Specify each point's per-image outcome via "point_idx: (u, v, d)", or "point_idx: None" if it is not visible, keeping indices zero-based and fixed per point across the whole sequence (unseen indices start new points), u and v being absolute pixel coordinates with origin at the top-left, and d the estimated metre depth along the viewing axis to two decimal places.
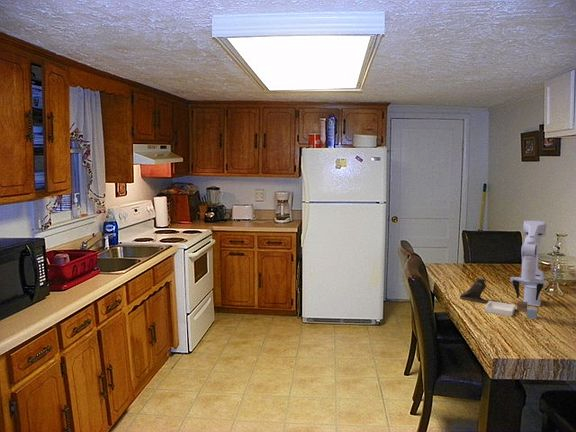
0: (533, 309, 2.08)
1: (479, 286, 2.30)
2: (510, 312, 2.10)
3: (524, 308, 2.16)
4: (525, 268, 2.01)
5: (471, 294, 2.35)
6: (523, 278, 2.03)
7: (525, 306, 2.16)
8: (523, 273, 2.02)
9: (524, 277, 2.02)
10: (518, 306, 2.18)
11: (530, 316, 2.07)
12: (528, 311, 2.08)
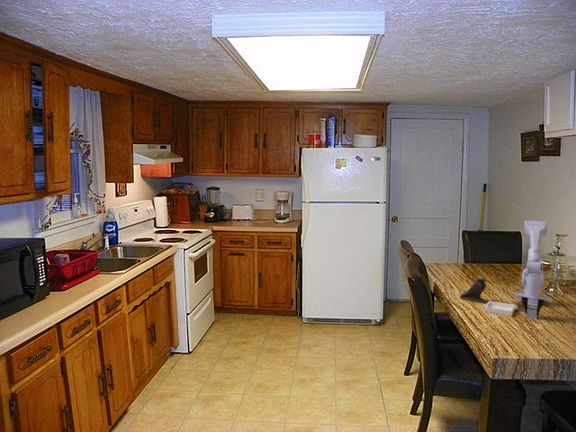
0: (533, 309, 2.08)
1: (479, 286, 2.30)
2: (510, 312, 2.10)
3: (524, 308, 2.16)
4: (531, 285, 2.05)
5: (471, 294, 2.35)
6: (528, 294, 2.07)
7: None
8: (528, 289, 2.06)
9: (529, 293, 2.06)
10: (518, 306, 2.18)
11: (530, 316, 2.07)
12: (528, 311, 2.07)
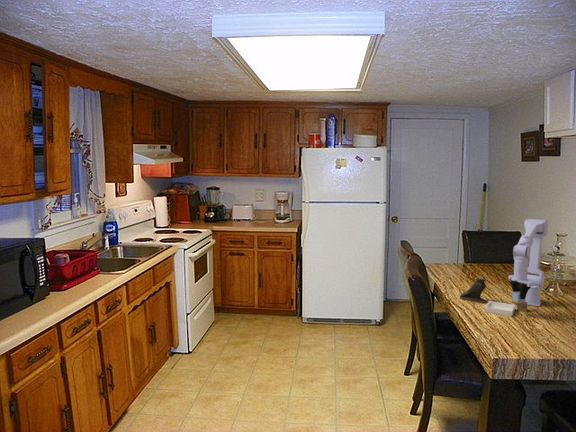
0: (519, 293, 2.11)
1: (479, 286, 2.30)
2: (510, 312, 2.10)
3: (524, 308, 2.16)
4: (516, 268, 2.09)
5: (471, 294, 2.35)
6: (513, 277, 2.12)
7: (525, 306, 2.16)
8: (514, 272, 2.12)
9: (513, 276, 2.12)
10: (518, 306, 2.18)
11: (514, 298, 2.12)
12: (513, 293, 2.13)
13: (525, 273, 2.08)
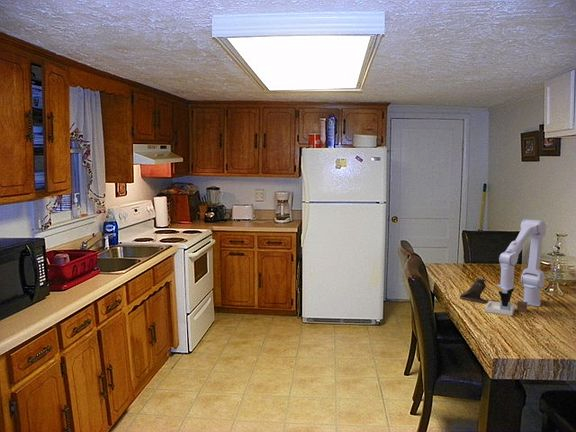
0: None
1: (479, 286, 2.30)
2: (510, 312, 2.10)
3: (524, 308, 2.16)
4: (502, 275, 2.14)
5: (471, 294, 2.35)
6: None
7: (525, 306, 2.16)
8: None
9: None
10: (518, 306, 2.18)
11: None
12: (501, 302, 2.19)
13: (507, 280, 2.12)
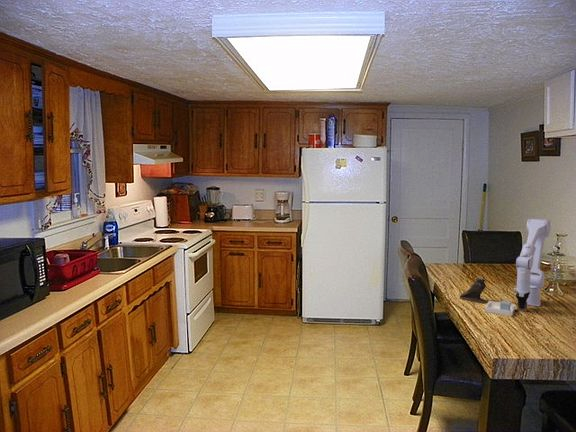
0: (505, 302, 2.16)
1: (479, 286, 2.30)
2: (510, 312, 2.10)
3: (524, 308, 2.16)
4: (519, 279, 2.16)
5: (471, 294, 2.35)
6: None
7: (525, 306, 2.16)
8: None
9: None
10: (518, 306, 2.18)
11: None
12: (501, 302, 2.19)
13: (523, 284, 2.15)
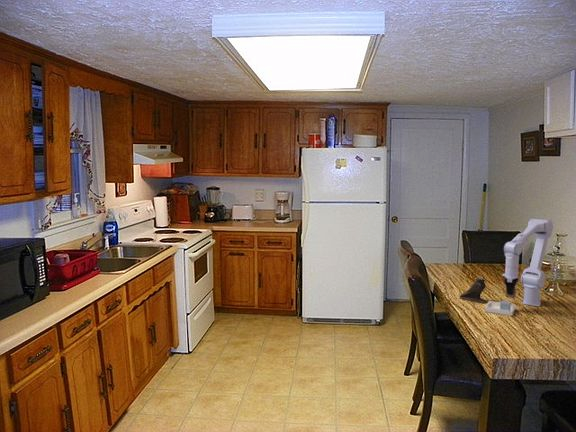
0: (505, 302, 2.16)
1: (478, 286, 2.30)
2: (510, 312, 2.10)
3: (513, 294, 2.16)
4: (506, 264, 2.16)
5: (471, 294, 2.35)
6: None
7: (513, 292, 2.15)
8: None
9: None
10: None
11: None
12: (501, 302, 2.19)
13: (512, 269, 2.14)
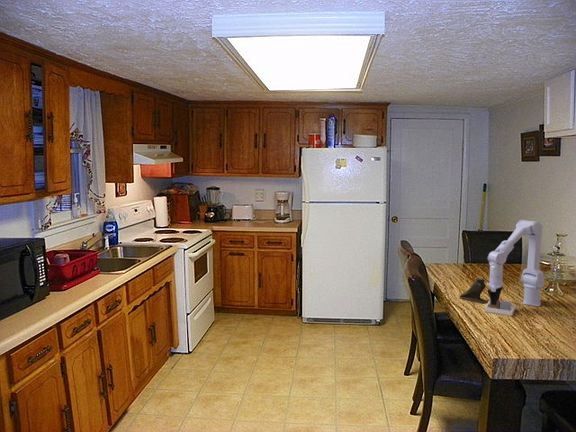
0: (505, 302, 2.16)
1: (478, 286, 2.30)
2: (510, 312, 2.10)
3: (497, 307, 2.17)
4: (490, 273, 2.17)
5: (471, 294, 2.35)
6: None
7: (497, 304, 2.17)
8: None
9: None
10: (491, 305, 2.18)
11: None
12: (501, 302, 2.19)
13: (496, 279, 2.15)
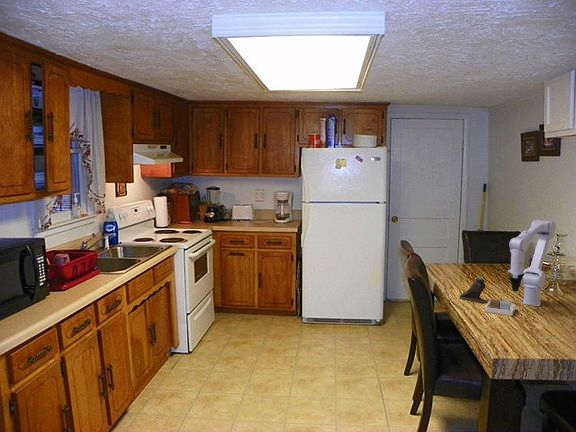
0: (505, 302, 2.16)
1: (478, 286, 2.30)
2: (510, 312, 2.10)
3: (497, 307, 2.17)
4: (512, 260, 2.16)
5: (470, 294, 2.35)
6: None
7: (497, 304, 2.17)
8: None
9: None
10: (491, 305, 2.18)
11: None
12: (501, 302, 2.19)
13: (517, 265, 2.15)
